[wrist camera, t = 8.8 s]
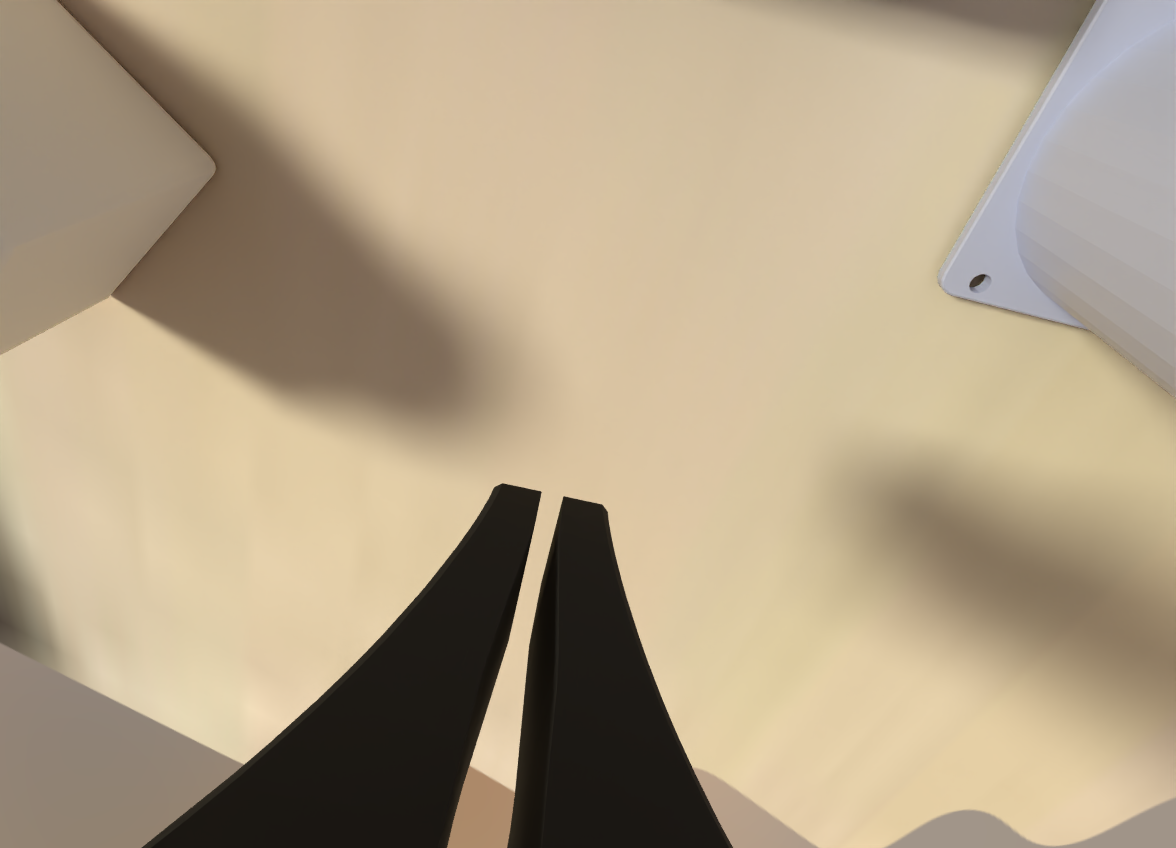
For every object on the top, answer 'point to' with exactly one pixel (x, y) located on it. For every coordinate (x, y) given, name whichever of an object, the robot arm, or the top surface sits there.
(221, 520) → the top surface
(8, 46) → the medicine bottle
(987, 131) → the top surface
